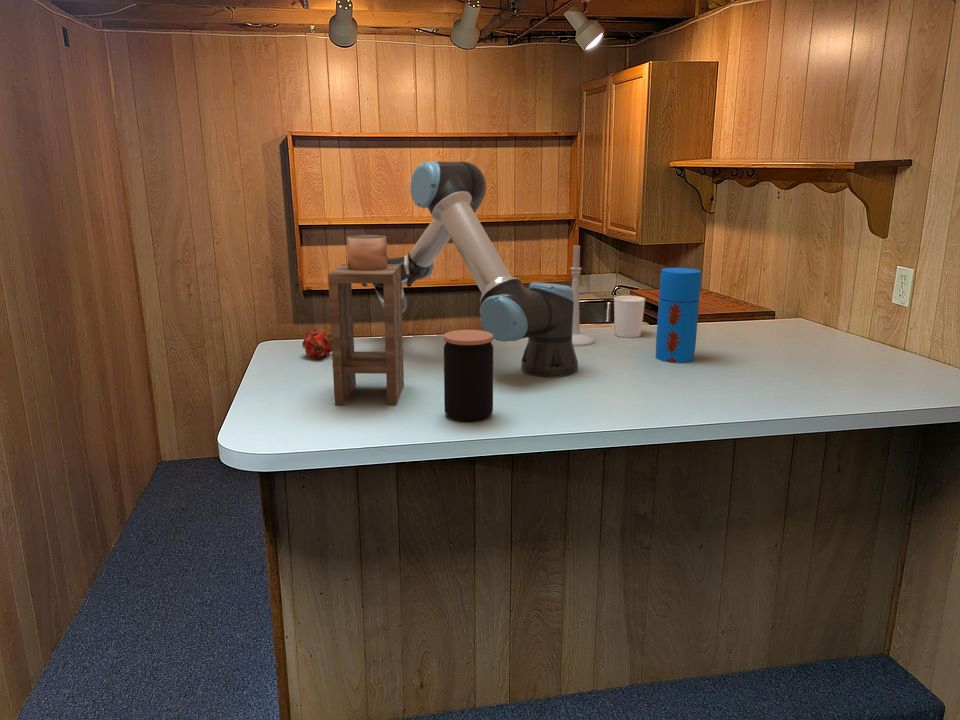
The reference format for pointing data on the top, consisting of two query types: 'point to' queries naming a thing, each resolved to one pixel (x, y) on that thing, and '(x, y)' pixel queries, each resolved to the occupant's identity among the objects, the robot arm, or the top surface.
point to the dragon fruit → (317, 343)
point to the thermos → (678, 314)
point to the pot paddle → (367, 252)
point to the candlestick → (577, 303)
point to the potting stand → (343, 334)
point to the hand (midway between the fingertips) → (379, 259)
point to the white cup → (628, 316)
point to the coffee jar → (468, 375)
